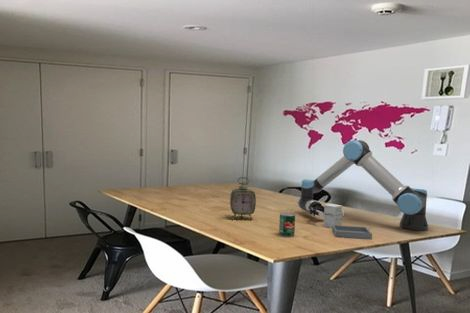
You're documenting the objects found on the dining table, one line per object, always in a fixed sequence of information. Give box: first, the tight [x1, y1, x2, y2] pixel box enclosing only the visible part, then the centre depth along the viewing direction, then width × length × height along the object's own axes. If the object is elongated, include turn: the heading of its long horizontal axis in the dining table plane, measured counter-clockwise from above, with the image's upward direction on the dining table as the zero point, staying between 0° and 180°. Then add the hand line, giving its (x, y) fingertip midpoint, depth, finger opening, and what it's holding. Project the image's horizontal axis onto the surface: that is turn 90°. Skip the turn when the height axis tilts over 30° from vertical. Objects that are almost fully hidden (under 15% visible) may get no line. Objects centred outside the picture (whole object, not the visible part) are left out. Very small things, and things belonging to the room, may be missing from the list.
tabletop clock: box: [229, 176, 257, 221], centre depth 244 cm, size 14×9×25 cm, turn 95°
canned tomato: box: [278, 212, 296, 238], centre depth 209 cm, size 8×8×11 cm
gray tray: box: [331, 225, 373, 240], centre depth 216 cm, size 18×14×3 cm
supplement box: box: [323, 203, 343, 229], centre depth 232 cm, size 7×7×13 cm
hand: (332, 214), depth 232 cm, fingers open, 13 cm apart
